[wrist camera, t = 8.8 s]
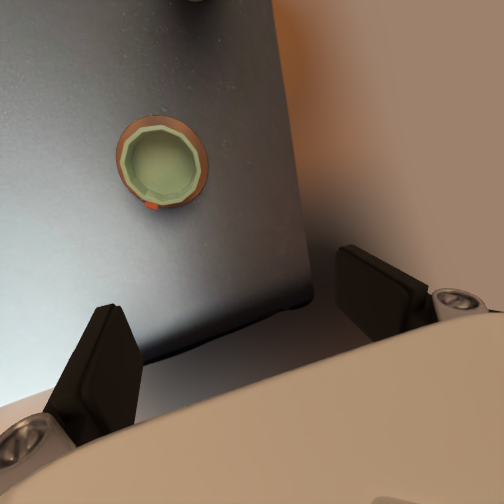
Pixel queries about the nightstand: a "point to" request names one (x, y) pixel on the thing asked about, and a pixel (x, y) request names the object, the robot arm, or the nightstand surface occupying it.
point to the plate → (175, 126)
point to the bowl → (160, 165)
